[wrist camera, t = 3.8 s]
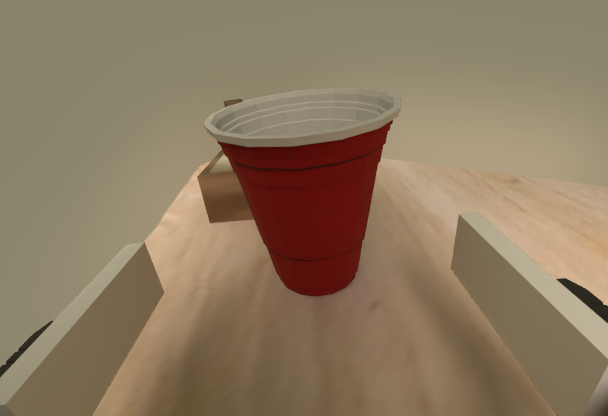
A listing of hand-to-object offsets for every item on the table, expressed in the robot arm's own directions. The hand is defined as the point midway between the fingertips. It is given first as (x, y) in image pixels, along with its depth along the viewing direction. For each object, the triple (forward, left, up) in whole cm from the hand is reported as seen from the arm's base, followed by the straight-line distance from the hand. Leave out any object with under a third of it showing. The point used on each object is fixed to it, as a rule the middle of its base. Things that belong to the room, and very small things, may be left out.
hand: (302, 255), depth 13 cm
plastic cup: (-4, -6, -7) cm, 10 cm away
